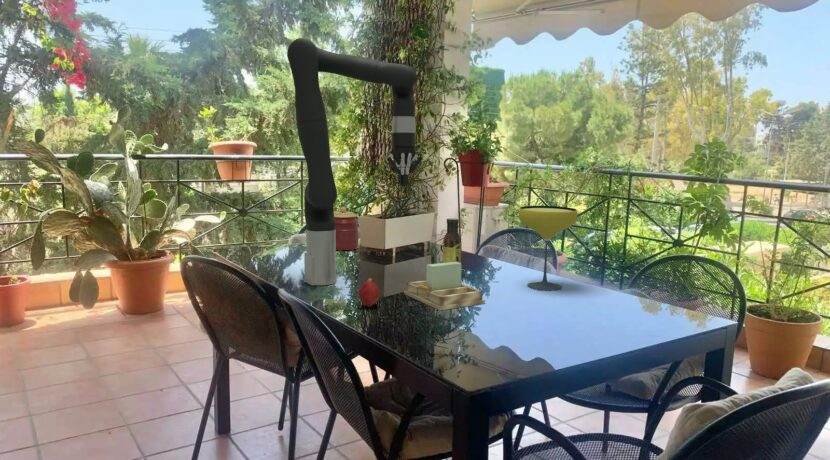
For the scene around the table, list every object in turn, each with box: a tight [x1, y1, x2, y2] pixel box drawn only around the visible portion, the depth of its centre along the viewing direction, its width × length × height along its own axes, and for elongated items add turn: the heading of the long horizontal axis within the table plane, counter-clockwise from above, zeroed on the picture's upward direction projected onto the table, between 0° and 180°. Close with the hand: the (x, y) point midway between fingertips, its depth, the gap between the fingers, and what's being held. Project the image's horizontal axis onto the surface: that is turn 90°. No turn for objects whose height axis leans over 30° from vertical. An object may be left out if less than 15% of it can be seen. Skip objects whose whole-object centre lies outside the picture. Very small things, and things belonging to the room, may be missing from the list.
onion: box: [358, 278, 381, 308], centre depth 169 cm, size 6×6×8 cm
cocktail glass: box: [518, 205, 579, 292], centre depth 194 cm, size 18×18×25 cm
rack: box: [403, 280, 486, 311], centre depth 179 cm, size 15×20×4 cm
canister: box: [334, 206, 360, 252], centre depth 258 cm, size 13×13×18 cm
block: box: [425, 262, 462, 291], centre depth 179 cm, size 10×3×9 cm, turn 120°
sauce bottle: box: [442, 217, 462, 264], centre depth 207 cm, size 6×6×20 cm
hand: (403, 186), depth 196 cm, fingers closed
